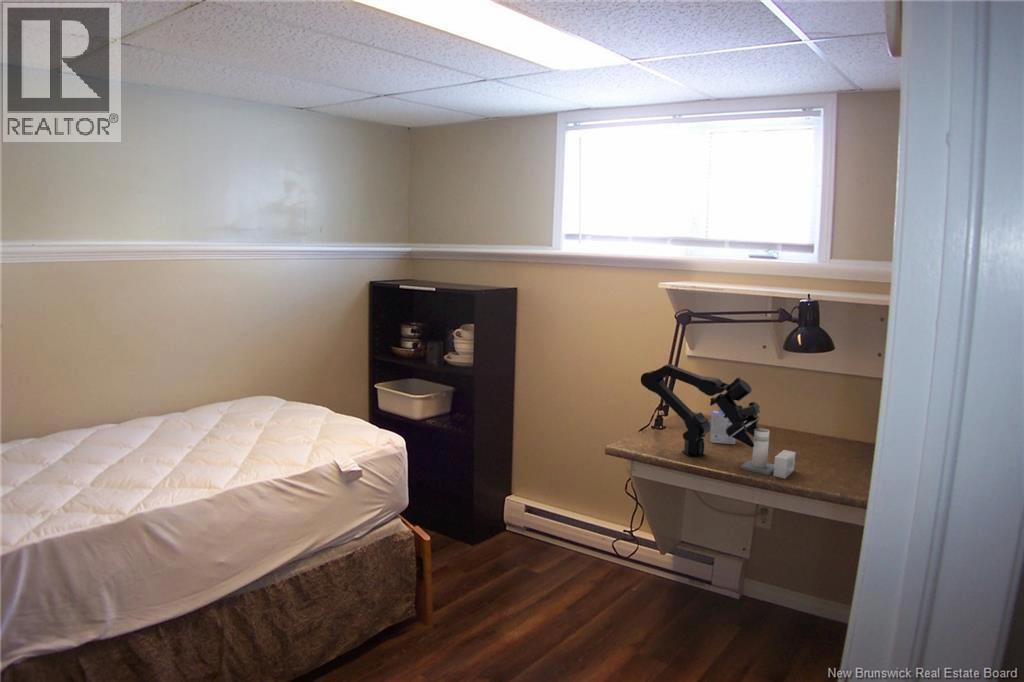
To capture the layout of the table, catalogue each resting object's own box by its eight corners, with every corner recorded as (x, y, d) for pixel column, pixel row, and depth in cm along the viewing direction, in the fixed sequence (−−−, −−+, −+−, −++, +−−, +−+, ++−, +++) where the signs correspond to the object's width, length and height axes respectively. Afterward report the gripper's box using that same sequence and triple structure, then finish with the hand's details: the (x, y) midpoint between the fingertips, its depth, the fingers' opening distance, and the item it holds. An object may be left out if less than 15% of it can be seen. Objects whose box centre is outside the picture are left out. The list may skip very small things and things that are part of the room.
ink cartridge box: (734, 440, 288) (736, 406, 285) (735, 444, 282) (738, 409, 280) (709, 439, 290) (711, 404, 287) (710, 442, 284) (712, 407, 282)
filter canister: (753, 467, 252) (755, 432, 250) (750, 462, 257) (753, 428, 255) (768, 468, 251) (771, 432, 249) (765, 463, 256) (767, 428, 254)
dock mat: (740, 468, 253) (740, 466, 253) (750, 462, 261) (750, 459, 261) (769, 475, 247) (769, 472, 247) (778, 467, 255) (778, 465, 255)
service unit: (772, 475, 247) (774, 456, 245) (781, 468, 254) (783, 449, 253) (785, 478, 244) (787, 459, 243) (794, 471, 252) (795, 452, 251)
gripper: (737, 400, 247) (766, 437, 242) (755, 391, 261) (783, 425, 257) (713, 418, 253) (742, 454, 248) (732, 408, 267) (759, 442, 263)
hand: (757, 443), depth 254 cm, fingers open, 9 cm apart
